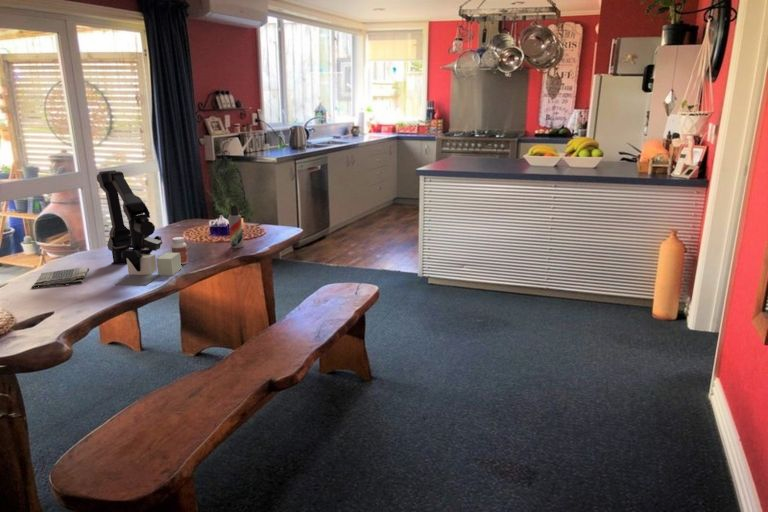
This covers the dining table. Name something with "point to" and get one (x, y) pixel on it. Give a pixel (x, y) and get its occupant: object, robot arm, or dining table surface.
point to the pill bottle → (180, 248)
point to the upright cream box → (143, 265)
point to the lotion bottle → (235, 227)
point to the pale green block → (169, 264)
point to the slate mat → (138, 280)
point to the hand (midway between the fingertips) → (142, 268)
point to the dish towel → (62, 277)
